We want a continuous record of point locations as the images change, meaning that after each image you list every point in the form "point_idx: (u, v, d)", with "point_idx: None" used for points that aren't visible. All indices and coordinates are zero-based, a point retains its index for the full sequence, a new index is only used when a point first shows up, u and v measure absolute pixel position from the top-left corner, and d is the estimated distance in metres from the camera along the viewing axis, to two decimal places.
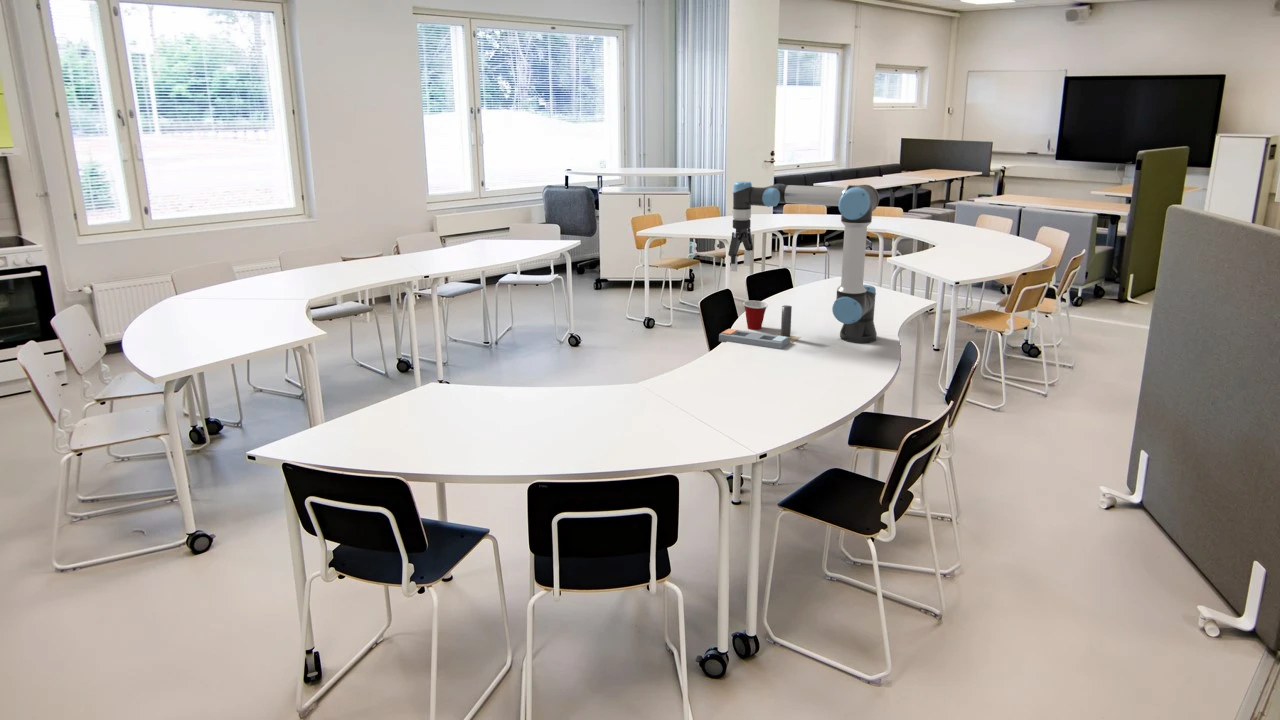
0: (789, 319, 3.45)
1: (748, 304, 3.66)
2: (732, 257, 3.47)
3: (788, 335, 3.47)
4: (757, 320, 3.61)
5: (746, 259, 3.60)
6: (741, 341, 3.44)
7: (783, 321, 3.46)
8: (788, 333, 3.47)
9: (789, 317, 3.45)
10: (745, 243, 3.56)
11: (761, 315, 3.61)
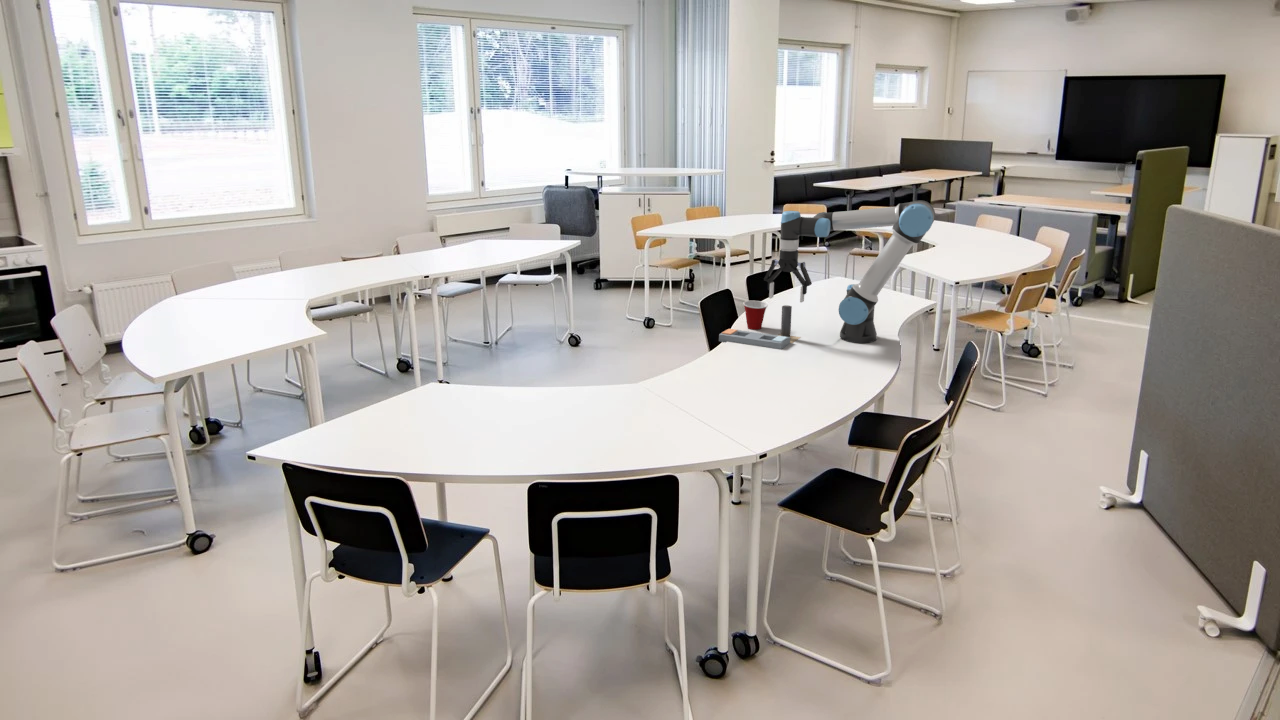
0: (789, 319, 3.45)
1: (748, 304, 3.66)
2: None
3: (788, 335, 3.47)
4: (757, 320, 3.61)
5: None
6: (741, 341, 3.44)
7: (783, 321, 3.46)
8: (788, 333, 3.47)
9: (789, 317, 3.45)
10: None
11: (761, 315, 3.61)
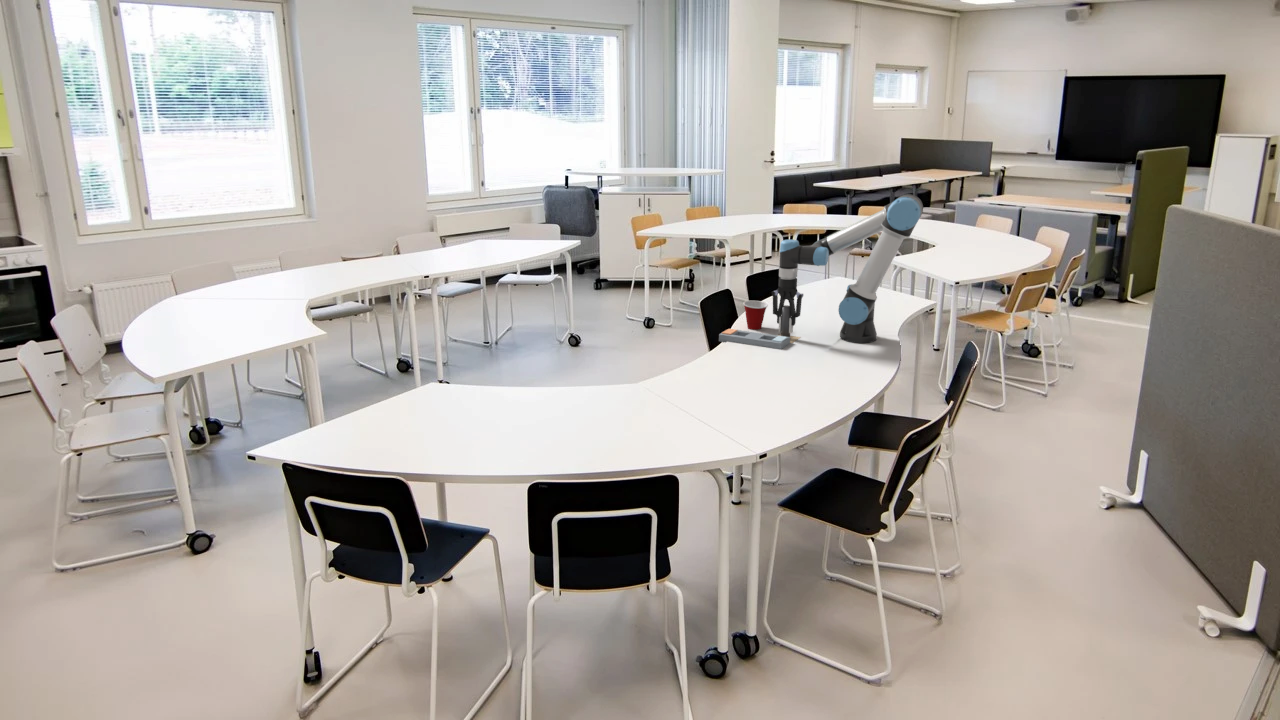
0: None
1: (748, 304, 3.66)
2: None
3: (788, 335, 3.47)
4: (757, 320, 3.61)
5: None
6: (741, 341, 3.44)
7: (783, 321, 3.46)
8: (788, 333, 3.47)
9: (789, 317, 3.45)
10: None
11: (761, 315, 3.61)
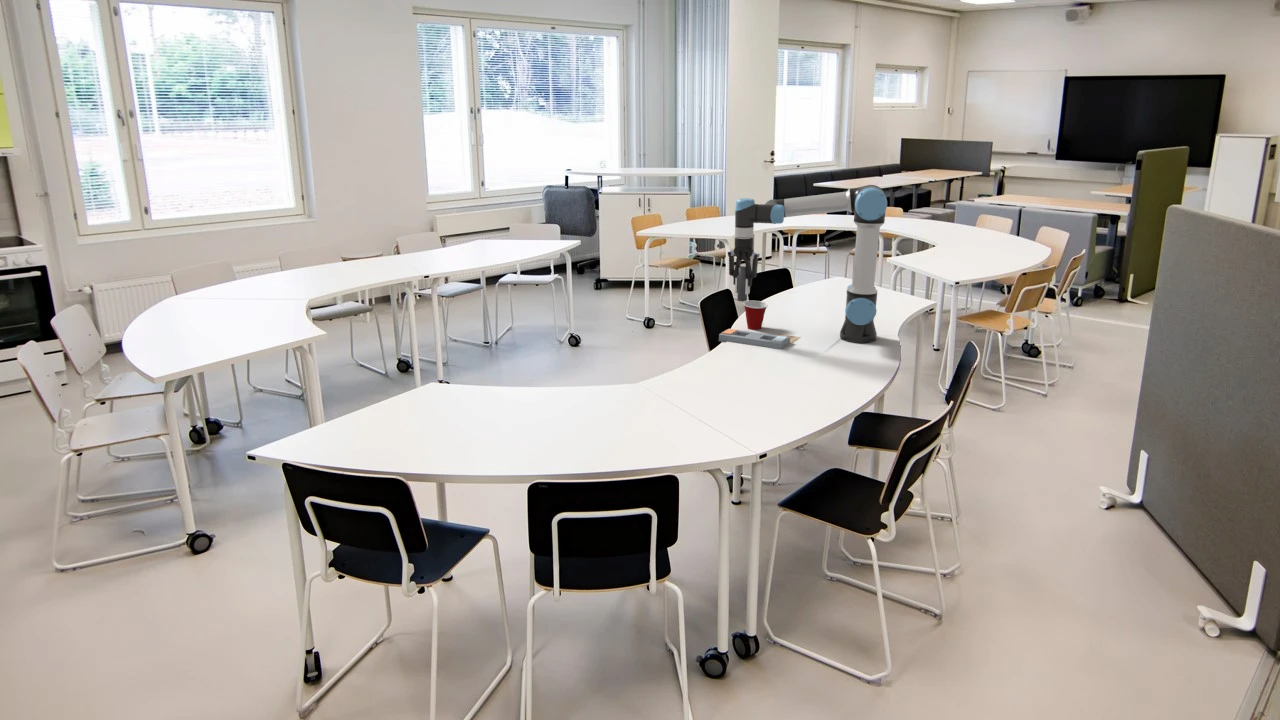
0: (745, 280, 3.40)
1: (748, 304, 3.66)
2: None
3: (744, 296, 3.42)
4: (757, 320, 3.61)
5: None
6: (741, 341, 3.44)
7: (739, 282, 3.40)
8: (744, 294, 3.42)
9: (745, 278, 3.39)
10: None
11: (761, 315, 3.61)
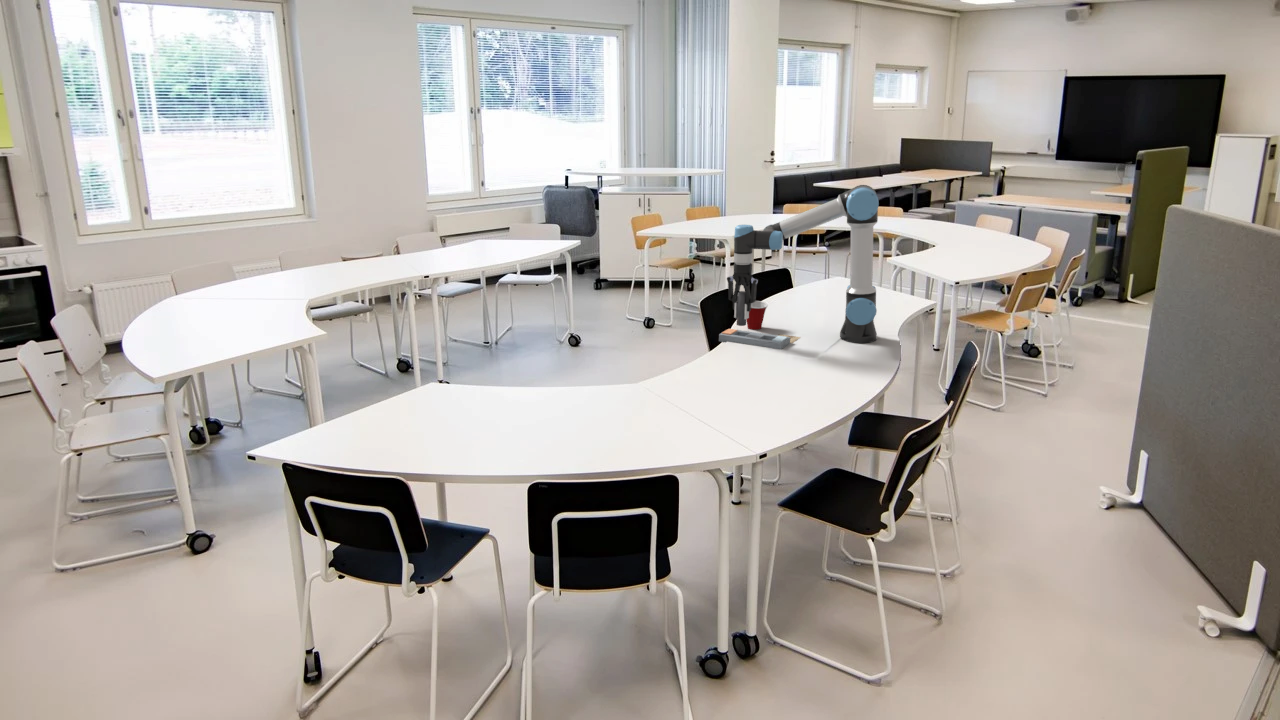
0: (744, 305, 3.43)
1: None
2: None
3: (744, 321, 3.45)
4: (757, 320, 3.61)
5: None
6: (741, 341, 3.44)
7: (738, 307, 3.44)
8: (744, 319, 3.45)
9: (744, 303, 3.43)
10: None
11: (761, 315, 3.61)
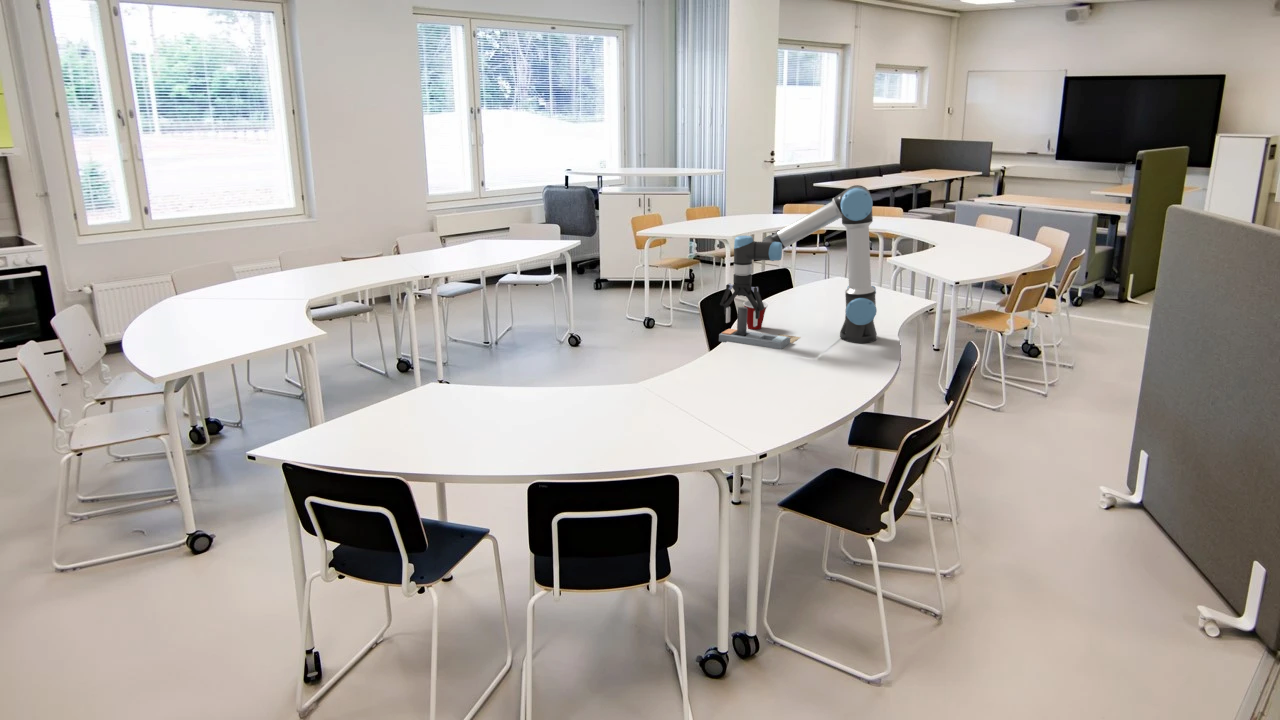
0: (745, 321, 3.45)
1: (748, 304, 3.66)
2: None
3: None
4: None
5: None
6: (741, 341, 3.44)
7: (739, 322, 3.45)
8: (744, 335, 3.47)
9: (745, 319, 3.45)
10: None
11: (761, 315, 3.61)
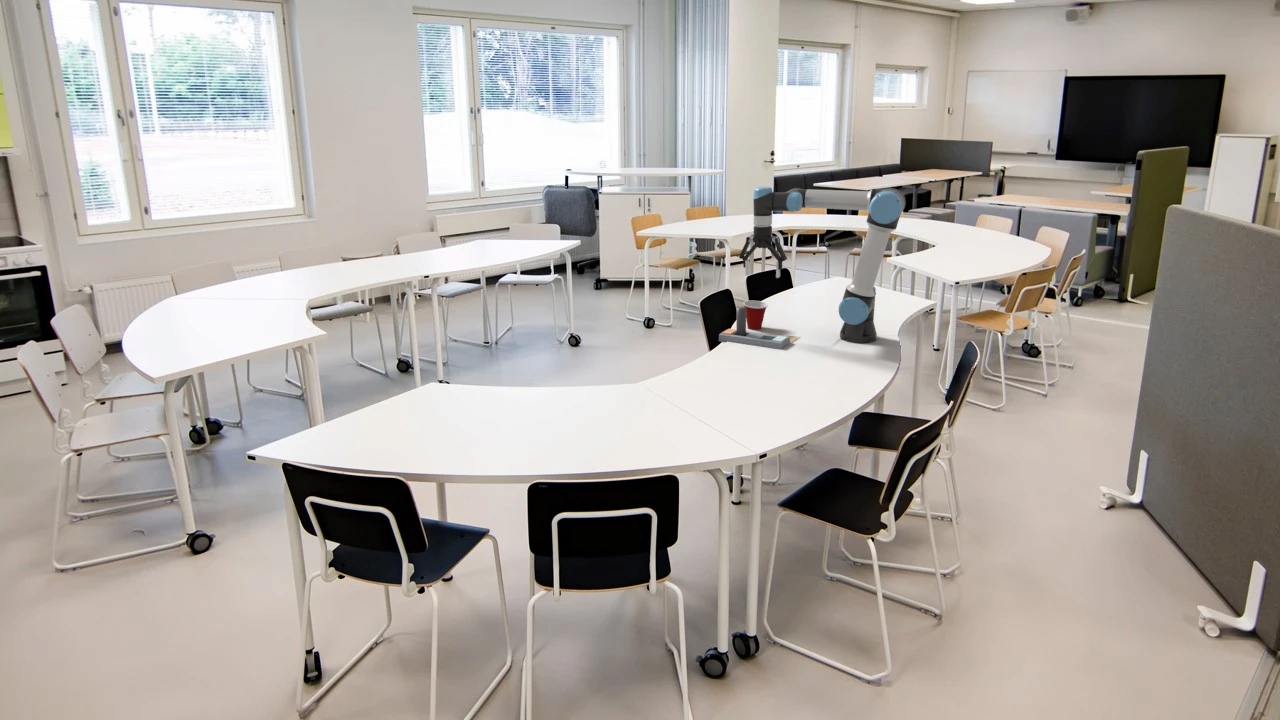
0: (744, 320, 3.45)
1: (748, 304, 3.66)
2: None
3: None
4: (757, 320, 3.61)
5: None
6: (741, 341, 3.44)
7: (738, 322, 3.46)
8: (743, 334, 3.47)
9: (744, 318, 3.45)
10: None
11: (761, 315, 3.61)
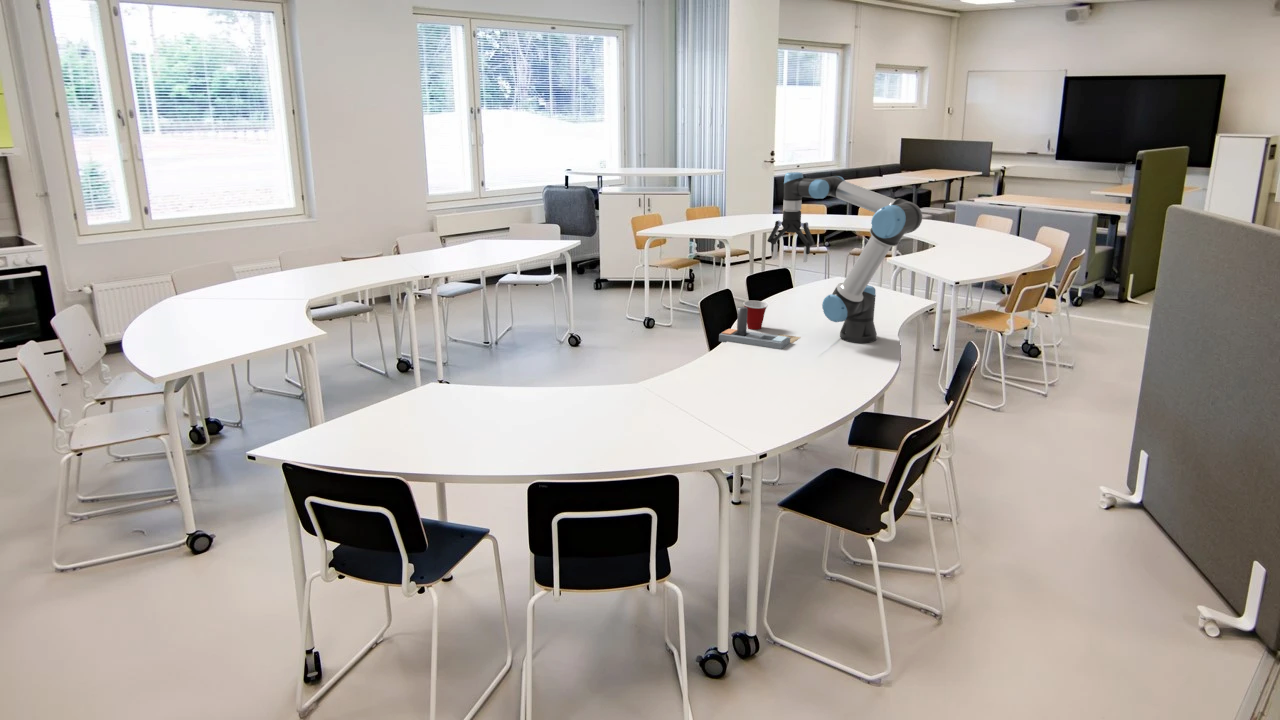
0: (745, 320, 3.45)
1: (748, 304, 3.66)
2: None
3: (744, 336, 3.47)
4: (757, 320, 3.61)
5: None
6: (741, 341, 3.44)
7: (739, 322, 3.46)
8: (744, 334, 3.47)
9: (745, 319, 3.45)
10: None
11: (761, 315, 3.61)
